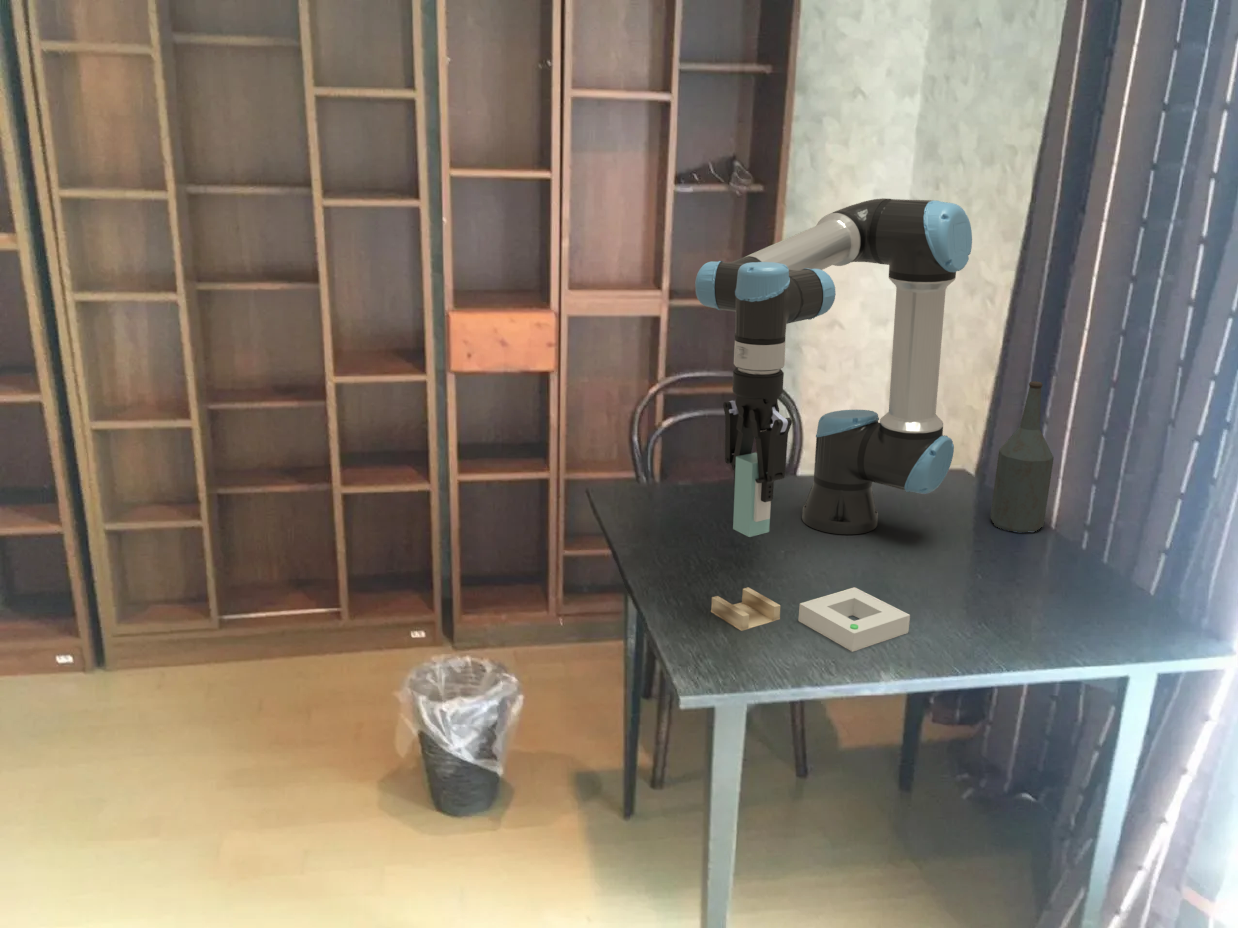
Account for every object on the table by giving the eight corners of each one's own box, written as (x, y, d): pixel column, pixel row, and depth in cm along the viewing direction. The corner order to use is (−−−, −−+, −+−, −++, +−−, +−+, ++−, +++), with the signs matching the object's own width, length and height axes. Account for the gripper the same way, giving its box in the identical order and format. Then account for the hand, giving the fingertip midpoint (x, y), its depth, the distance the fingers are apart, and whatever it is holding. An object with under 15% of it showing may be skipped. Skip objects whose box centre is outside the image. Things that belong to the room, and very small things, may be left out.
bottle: (1047, 536, 204) (1069, 389, 194) (995, 532, 205) (1015, 386, 196) (1035, 517, 213) (1056, 377, 204) (986, 514, 215) (1004, 375, 206)
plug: (733, 528, 161) (735, 456, 157) (752, 523, 163) (756, 452, 159) (749, 537, 158) (752, 463, 154) (769, 531, 160) (772, 459, 156)
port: (797, 629, 164) (799, 601, 162) (852, 611, 170) (854, 585, 168) (851, 660, 154) (854, 631, 152) (907, 640, 160) (910, 613, 159)
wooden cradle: (709, 619, 166) (710, 597, 165) (748, 608, 171) (749, 587, 169) (740, 639, 160) (742, 616, 159) (779, 627, 164) (781, 605, 163)
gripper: (703, 360, 157) (699, 503, 165) (777, 383, 144) (769, 537, 151) (742, 355, 161) (736, 494, 169) (816, 376, 148) (807, 527, 155)
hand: (751, 514), depth 160 cm, fingers closed on plug, 4 cm apart
